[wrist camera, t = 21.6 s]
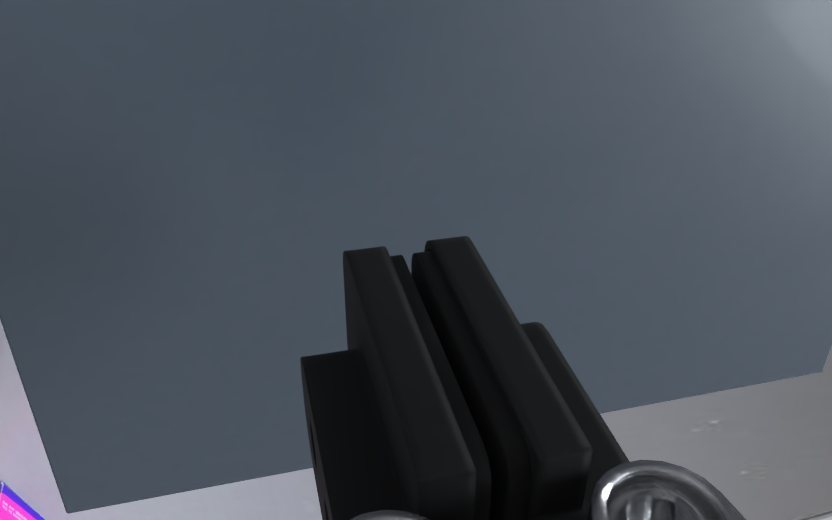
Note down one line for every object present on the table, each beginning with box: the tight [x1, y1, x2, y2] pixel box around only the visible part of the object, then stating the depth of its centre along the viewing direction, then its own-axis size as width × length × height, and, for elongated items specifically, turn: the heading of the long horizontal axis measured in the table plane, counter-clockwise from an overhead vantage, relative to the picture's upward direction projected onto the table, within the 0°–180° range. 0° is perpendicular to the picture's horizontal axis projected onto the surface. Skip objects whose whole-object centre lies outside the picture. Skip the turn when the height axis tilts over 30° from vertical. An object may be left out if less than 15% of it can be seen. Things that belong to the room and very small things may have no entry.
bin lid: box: [0, 0, 832, 513], centre depth 16 cm, size 18×13×1 cm
